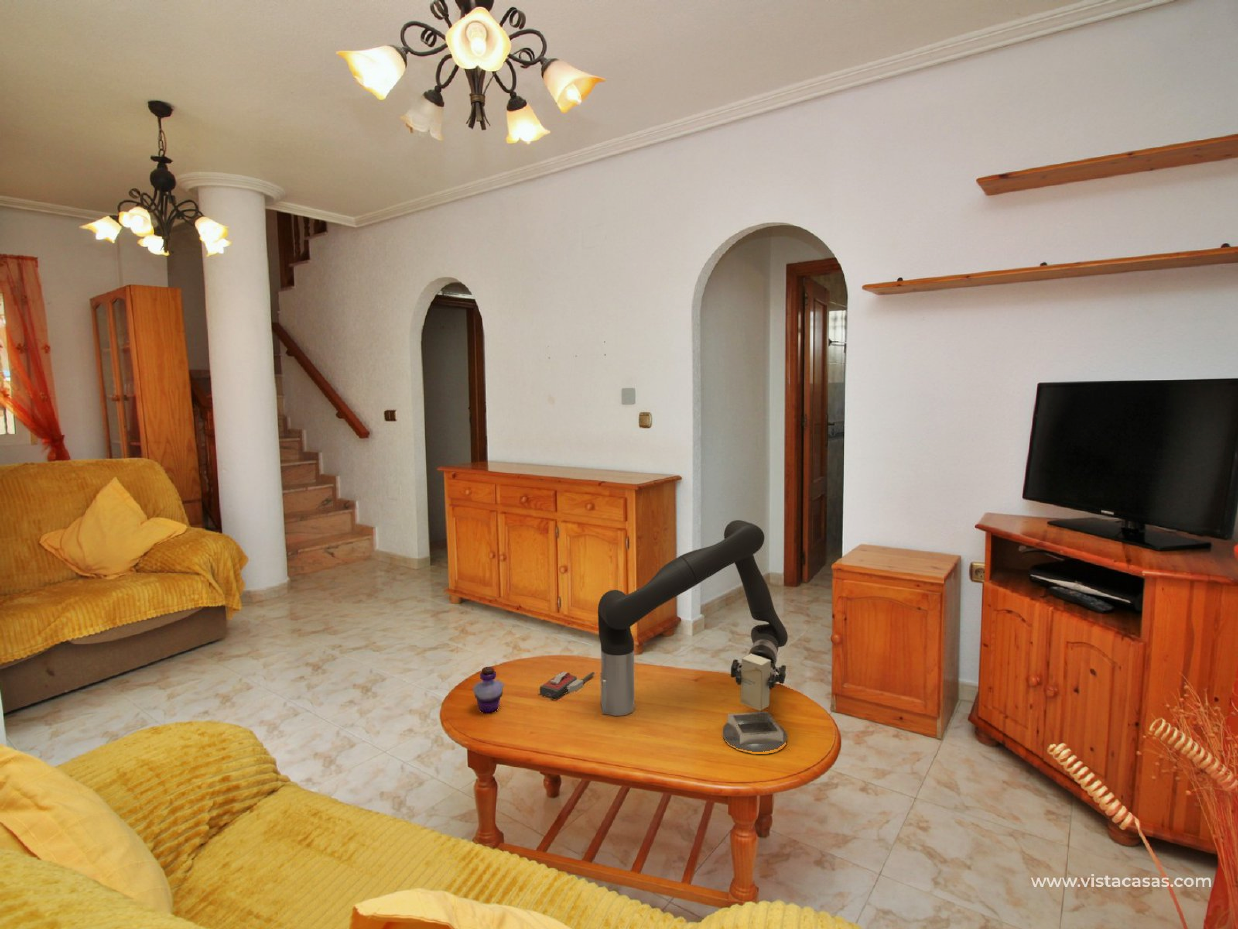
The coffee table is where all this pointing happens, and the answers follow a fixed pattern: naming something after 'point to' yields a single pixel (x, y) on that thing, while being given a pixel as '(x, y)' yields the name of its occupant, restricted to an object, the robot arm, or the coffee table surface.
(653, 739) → the coffee table surface
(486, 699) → the potion bottle
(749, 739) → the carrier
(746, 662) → the skincare box
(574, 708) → the coffee table surface
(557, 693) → the walkie-talkie
